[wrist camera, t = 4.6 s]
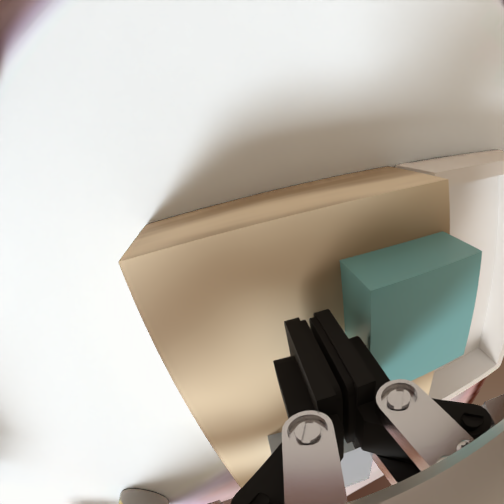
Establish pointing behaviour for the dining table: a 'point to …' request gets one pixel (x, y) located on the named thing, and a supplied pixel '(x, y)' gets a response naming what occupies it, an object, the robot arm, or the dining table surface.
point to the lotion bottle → (141, 497)
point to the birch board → (264, 289)
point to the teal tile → (412, 302)
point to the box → (492, 262)
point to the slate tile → (352, 464)
